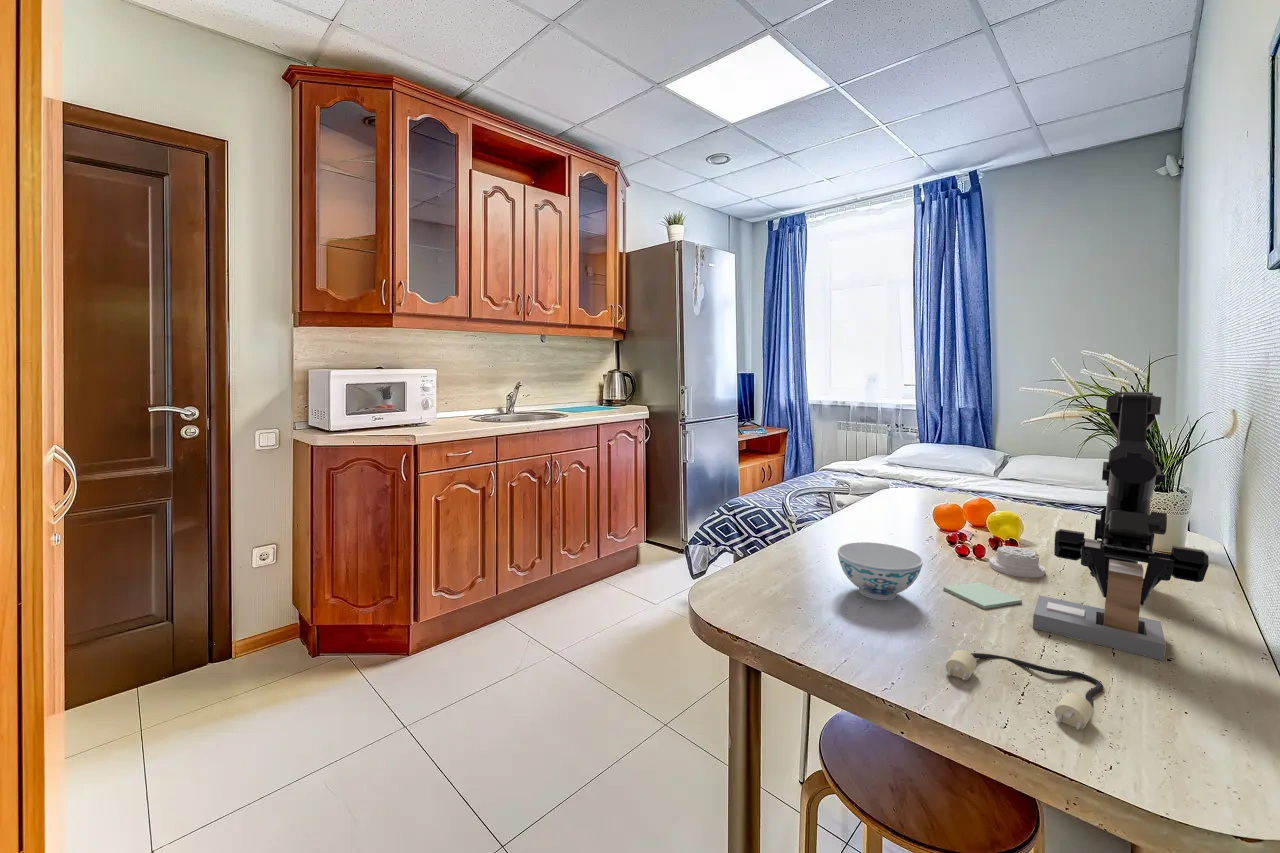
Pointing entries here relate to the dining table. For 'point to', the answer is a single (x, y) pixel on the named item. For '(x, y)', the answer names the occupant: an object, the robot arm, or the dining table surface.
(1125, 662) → the dining table surface
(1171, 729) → the dining table surface
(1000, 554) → the mechanical component
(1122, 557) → the robot arm
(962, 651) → the cable
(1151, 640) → the socket block
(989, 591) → the mat
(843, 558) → the chinaware
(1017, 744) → the dining table surface
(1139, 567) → the plug
